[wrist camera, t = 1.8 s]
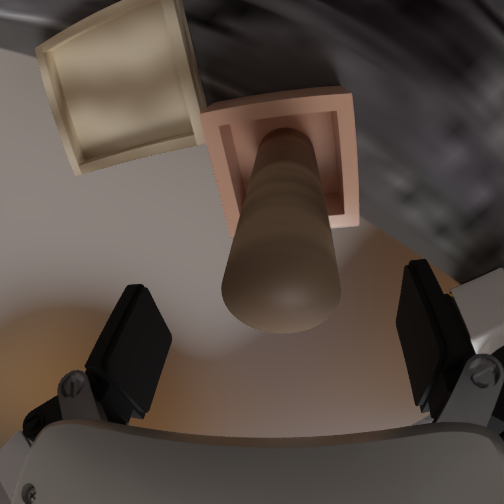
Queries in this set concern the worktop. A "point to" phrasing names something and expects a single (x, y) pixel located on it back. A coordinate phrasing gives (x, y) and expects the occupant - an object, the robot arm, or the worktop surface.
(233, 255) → the dowel
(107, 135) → the tray
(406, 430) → the robot arm
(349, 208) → the pink square box
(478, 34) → the worktop surface
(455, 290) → the medicine bottle
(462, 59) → the worktop surface
